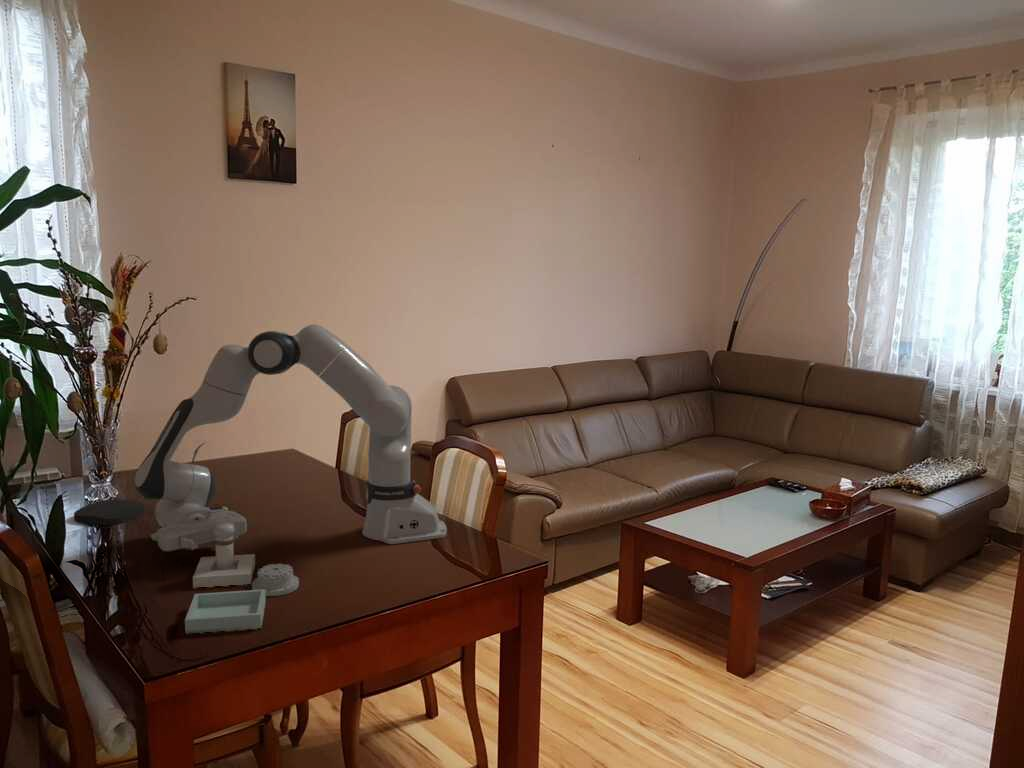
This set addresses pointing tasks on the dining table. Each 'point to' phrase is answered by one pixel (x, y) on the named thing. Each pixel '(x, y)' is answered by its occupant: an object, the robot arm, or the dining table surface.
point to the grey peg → (224, 546)
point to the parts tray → (226, 611)
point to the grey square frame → (224, 572)
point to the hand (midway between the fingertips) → (215, 541)
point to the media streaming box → (108, 512)
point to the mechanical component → (276, 580)
